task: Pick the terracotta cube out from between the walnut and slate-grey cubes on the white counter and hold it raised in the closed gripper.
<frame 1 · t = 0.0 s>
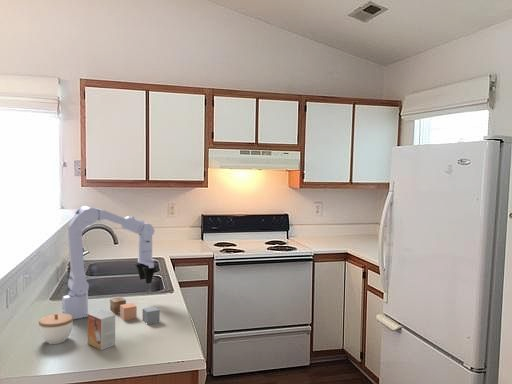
hand: (145, 281, 190), 10 cm above the worktop, tool pointing down, fingers open, 7 cm apart
terracotta cube: (128, 317, 173), on the worktop
lidded jar: (56, 341, 150), on the worktop
slate cube: (151, 321, 169), on the worktop
small box: (101, 345, 147), on the worktop
walnut cube: (118, 311, 181), on the worktop
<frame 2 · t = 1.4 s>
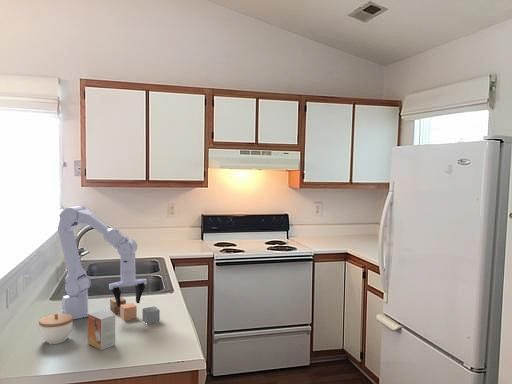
hand: (128, 304, 173), 5 cm above the worktop, tool pointing down, fingers open, 7 cm apart
nothing on the worktop moved.
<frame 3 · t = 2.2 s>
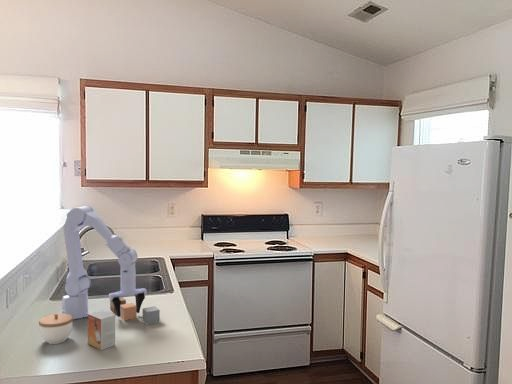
hand: (128, 314, 173), 1 cm above the worktop, tool pointing down, fingers open, 7 cm apart
nothing on the worktop moved.
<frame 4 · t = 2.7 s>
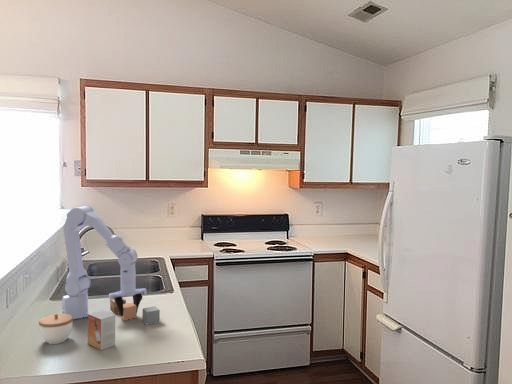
hand: (128, 314, 173), 1 cm above the worktop, tool pointing down, fingers closed on terracotta cube, 5 cm apart
terracotta cube: (128, 317, 173), on the worktop, touching gripper
everything else where it was.
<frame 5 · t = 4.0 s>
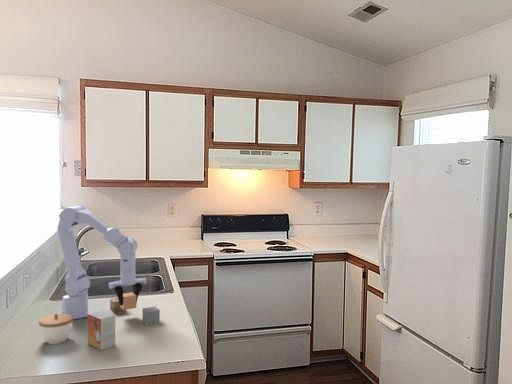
hand: (128, 303, 173), 6 cm above the worktop, tool pointing down, fingers closed on terracotta cube, 5 cm apart
terracotta cube: (128, 307, 173), point 4 cm above the worktop, touching gripper
everything else where it was.
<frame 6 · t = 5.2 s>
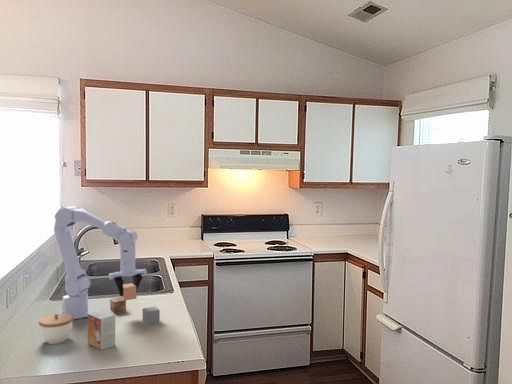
hand: (128, 294, 173), 9 cm above the worktop, tool pointing down, fingers closed on terracotta cube, 5 cm apart
terracotta cube: (128, 297, 173), point 8 cm above the worktop, touching gripper
everything else where it was.
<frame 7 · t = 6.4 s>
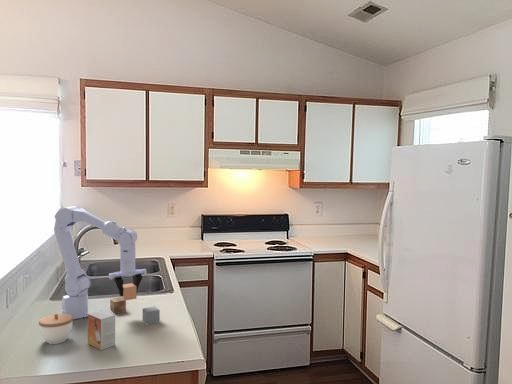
hand: (128, 294, 173), 9 cm above the worktop, tool pointing down, fingers closed on terracotta cube, 5 cm apart
terracotta cube: (128, 297, 173), point 8 cm above the worktop, touching gripper
everything else where it was.
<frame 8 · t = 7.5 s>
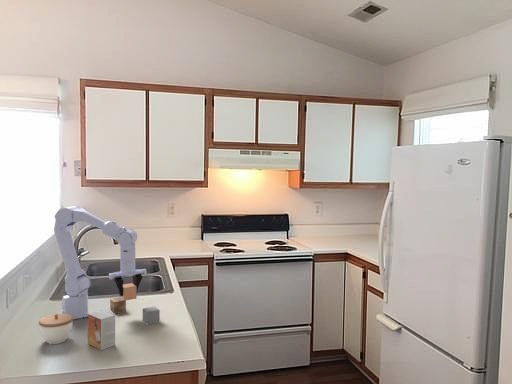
hand: (128, 294, 173), 9 cm above the worktop, tool pointing down, fingers closed on terracotta cube, 5 cm apart
terracotta cube: (128, 297, 173), point 8 cm above the worktop, touching gripper
everything else where it was.
at the end: the gripper is holding terracotta cube; terracotta cube point 8.0 cm above the worktop; walnut cube moved 0.1 cm from its start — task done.
